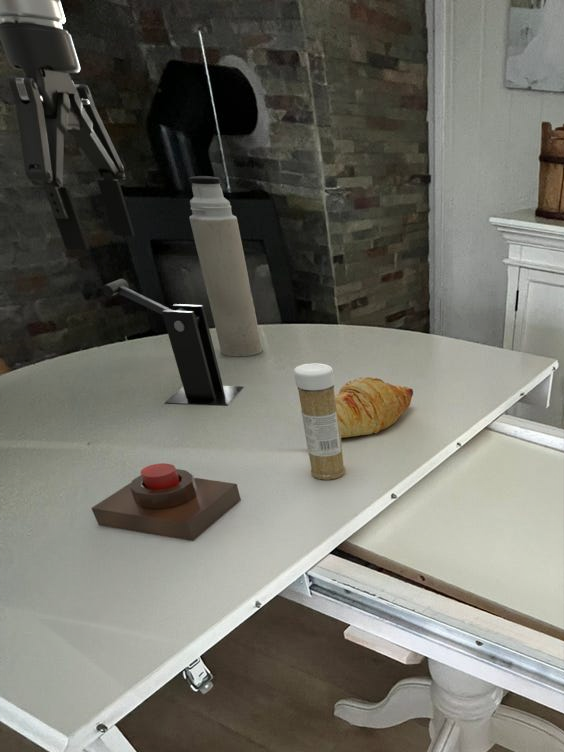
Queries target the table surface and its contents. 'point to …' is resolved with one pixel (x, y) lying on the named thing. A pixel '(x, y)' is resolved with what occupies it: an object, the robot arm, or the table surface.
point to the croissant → (370, 406)
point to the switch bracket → (196, 359)
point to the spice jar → (320, 419)
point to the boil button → (160, 476)
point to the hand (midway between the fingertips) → (102, 242)
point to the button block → (168, 507)
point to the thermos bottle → (224, 268)
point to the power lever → (135, 296)
